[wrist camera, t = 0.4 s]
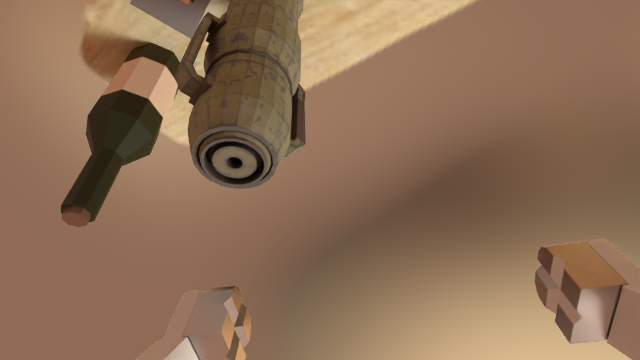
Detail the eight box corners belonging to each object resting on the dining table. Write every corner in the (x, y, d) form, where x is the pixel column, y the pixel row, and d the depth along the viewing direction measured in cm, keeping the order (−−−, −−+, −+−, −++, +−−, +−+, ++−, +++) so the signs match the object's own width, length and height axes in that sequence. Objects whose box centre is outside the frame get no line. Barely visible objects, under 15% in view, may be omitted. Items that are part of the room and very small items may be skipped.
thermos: (289, 35, 56) (272, 225, 32) (215, -16, 51) (128, 165, 26) (326, -16, 51) (340, 164, 27) (249, -79, 46) (179, 73, 21)
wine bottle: (118, 65, 59) (13, 217, 38) (148, 31, 55) (49, 179, 34) (165, 99, 64) (94, 251, 43) (195, 70, 60) (134, 221, 39)
